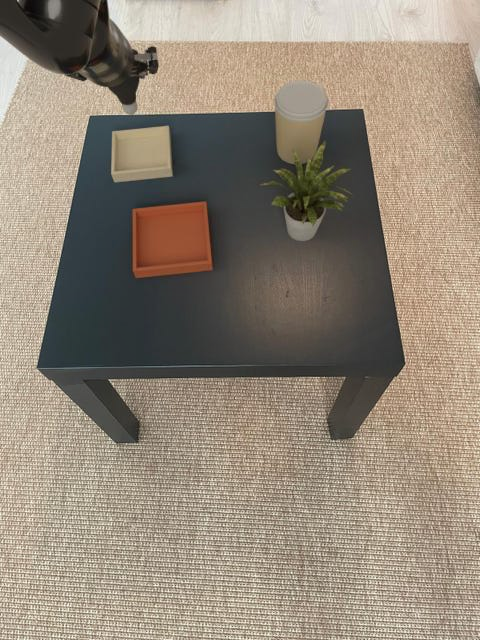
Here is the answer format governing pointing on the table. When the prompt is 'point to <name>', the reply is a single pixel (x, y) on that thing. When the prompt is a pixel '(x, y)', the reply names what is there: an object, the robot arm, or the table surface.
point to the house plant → (308, 196)
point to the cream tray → (141, 154)
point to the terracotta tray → (171, 240)
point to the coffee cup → (299, 119)
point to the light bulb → (127, 94)
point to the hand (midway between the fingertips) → (122, 73)
